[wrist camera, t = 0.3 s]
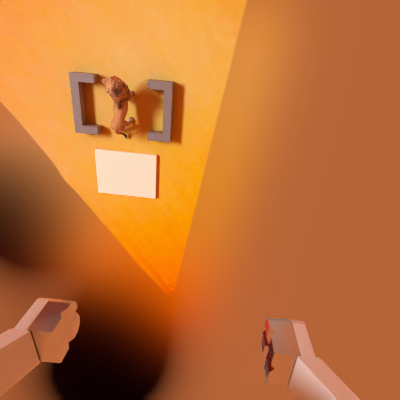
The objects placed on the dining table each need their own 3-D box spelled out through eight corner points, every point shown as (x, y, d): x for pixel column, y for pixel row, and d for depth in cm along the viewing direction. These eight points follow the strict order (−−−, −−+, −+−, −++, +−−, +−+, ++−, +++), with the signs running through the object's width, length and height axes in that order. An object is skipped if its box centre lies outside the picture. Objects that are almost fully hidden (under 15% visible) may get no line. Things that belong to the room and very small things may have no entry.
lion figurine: (112, 74, 52) (96, 75, 46) (134, 75, 52) (122, 76, 46) (117, 137, 58) (104, 146, 51) (138, 138, 57) (127, 148, 51)
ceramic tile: (95, 148, 59) (94, 149, 58) (156, 154, 59) (156, 155, 58) (99, 191, 63) (98, 192, 63) (155, 197, 63) (155, 198, 63)
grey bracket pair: (74, 71, 53) (69, 72, 51) (174, 81, 52) (172, 82, 50) (80, 130, 57) (75, 132, 56) (171, 139, 57) (170, 142, 55)
